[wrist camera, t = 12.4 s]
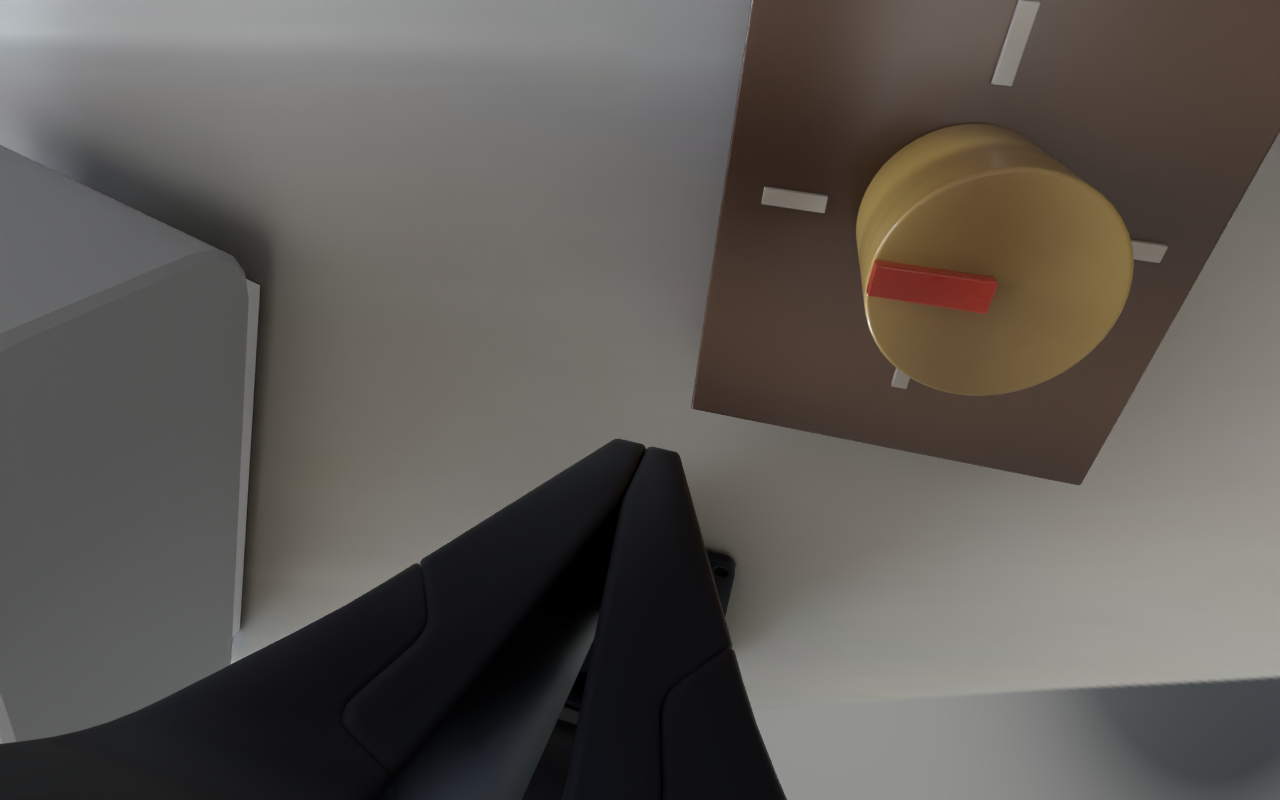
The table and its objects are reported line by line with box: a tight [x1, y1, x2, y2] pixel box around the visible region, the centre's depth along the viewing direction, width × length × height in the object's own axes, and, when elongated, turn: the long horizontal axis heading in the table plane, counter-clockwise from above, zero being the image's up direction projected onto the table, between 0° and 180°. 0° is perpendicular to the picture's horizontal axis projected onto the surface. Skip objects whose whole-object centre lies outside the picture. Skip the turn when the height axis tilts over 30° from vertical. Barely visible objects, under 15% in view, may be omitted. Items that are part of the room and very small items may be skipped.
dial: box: [856, 124, 1134, 396], centre depth 13 cm, size 4×4×4 cm
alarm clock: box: [0, 145, 260, 744], centre depth 25 cm, size 27×9×12 cm, turn 158°
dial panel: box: [691, 0, 1280, 485], centre depth 16 cm, size 12×10×3 cm
